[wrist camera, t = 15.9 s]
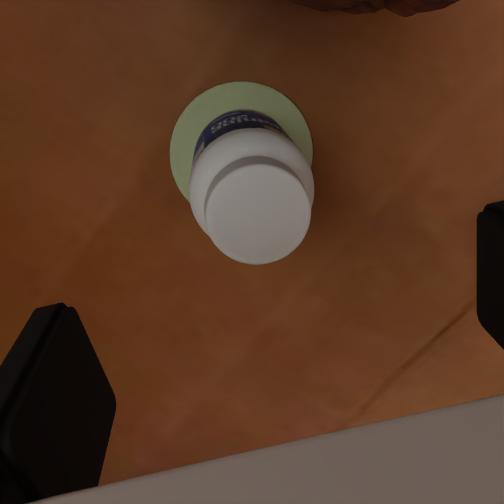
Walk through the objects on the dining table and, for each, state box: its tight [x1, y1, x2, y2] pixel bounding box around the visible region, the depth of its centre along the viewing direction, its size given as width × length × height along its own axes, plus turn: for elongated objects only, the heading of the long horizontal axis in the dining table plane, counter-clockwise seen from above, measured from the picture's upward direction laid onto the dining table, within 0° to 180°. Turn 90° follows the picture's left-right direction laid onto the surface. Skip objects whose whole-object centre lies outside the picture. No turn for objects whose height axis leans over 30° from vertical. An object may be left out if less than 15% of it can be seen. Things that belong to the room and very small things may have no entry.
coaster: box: [170, 81, 313, 203], centre depth 26 cm, size 8×8×1 cm
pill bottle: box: [189, 109, 314, 264], centre depth 22 cm, size 5×5×10 cm
